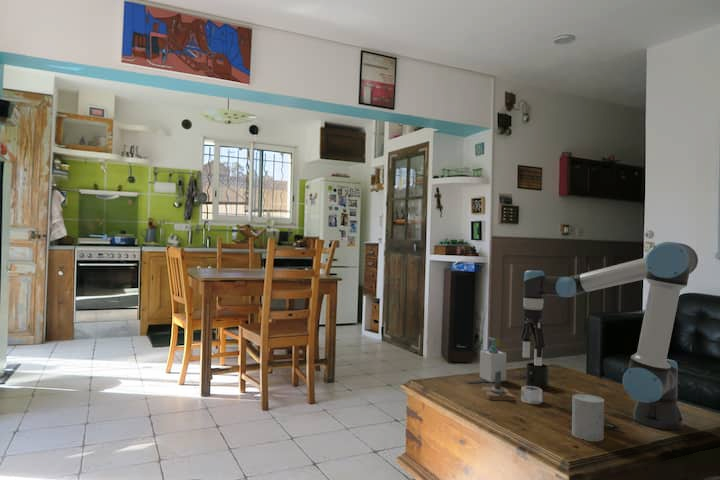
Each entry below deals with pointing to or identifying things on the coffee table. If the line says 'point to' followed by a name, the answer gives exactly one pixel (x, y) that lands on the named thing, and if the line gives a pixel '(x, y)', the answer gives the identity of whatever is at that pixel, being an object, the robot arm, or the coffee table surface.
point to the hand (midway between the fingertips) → (531, 361)
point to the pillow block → (497, 390)
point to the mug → (537, 375)
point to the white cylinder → (588, 417)
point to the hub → (531, 394)
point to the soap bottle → (492, 362)
